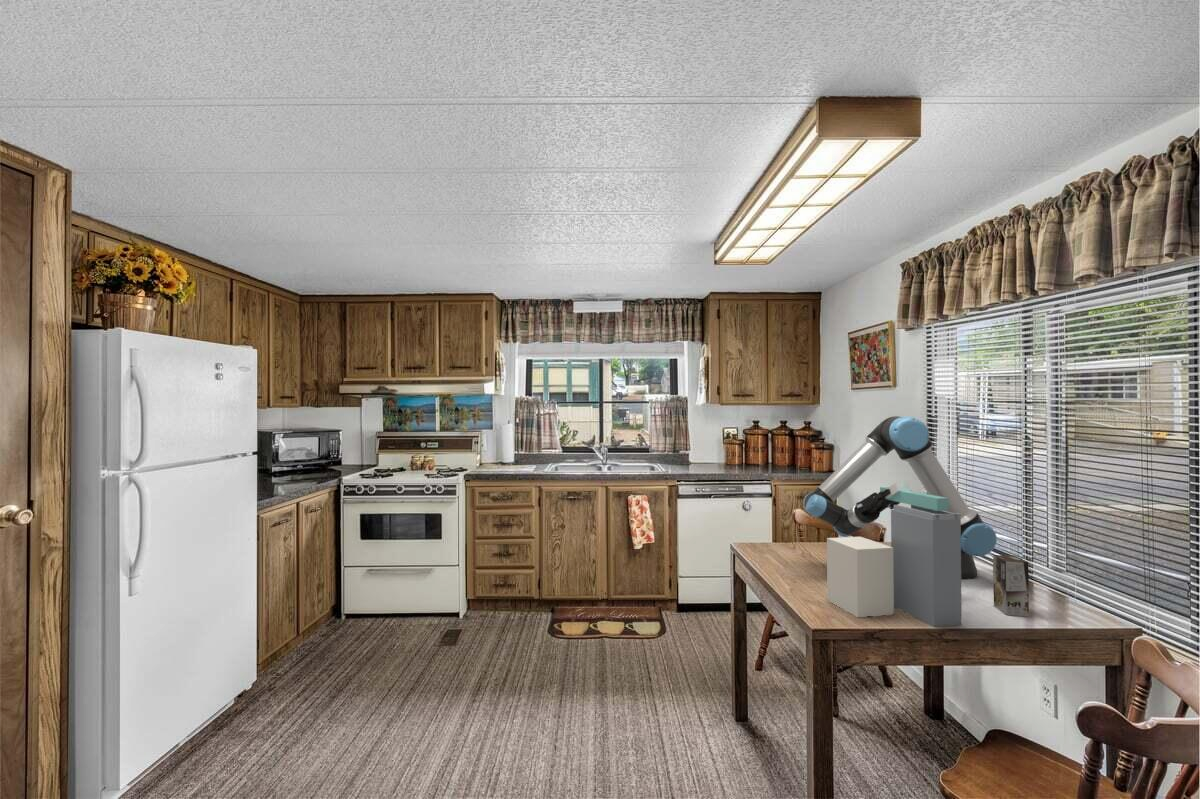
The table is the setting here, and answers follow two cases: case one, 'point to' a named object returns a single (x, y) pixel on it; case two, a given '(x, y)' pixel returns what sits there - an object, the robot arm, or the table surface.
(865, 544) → the beige tall block
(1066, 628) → the table surface
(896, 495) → the lid bar
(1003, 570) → the coffee box
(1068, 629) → the table surface
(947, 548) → the tall grey bin
